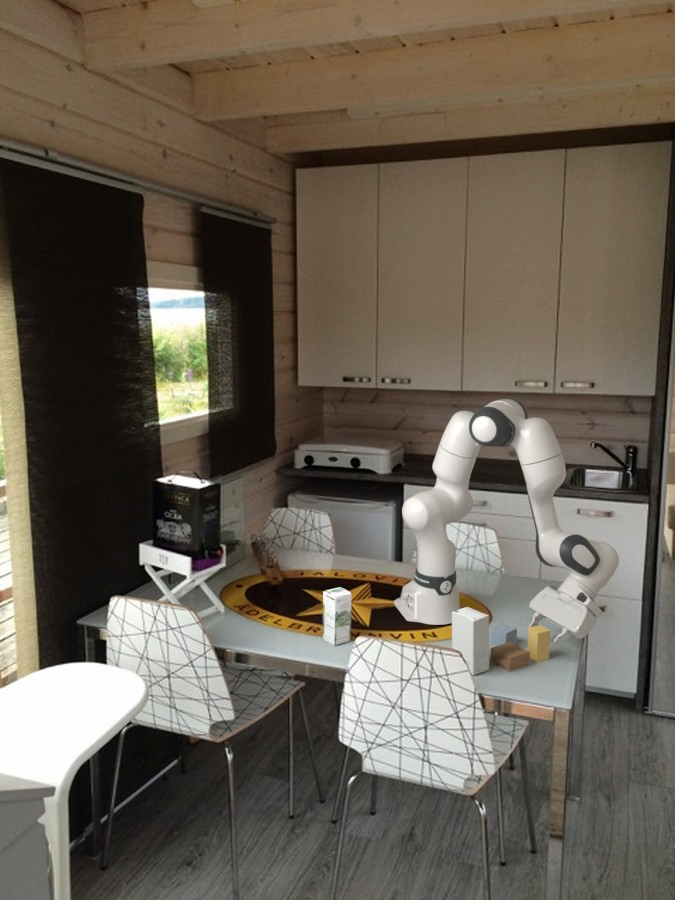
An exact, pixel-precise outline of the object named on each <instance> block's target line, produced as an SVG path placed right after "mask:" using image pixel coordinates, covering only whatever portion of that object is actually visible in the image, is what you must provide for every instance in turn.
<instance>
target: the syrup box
mask: <svg viewBox="0 0 675 900" xmlns="http://www.w3.org/2000/svg"><path fill="white" fill-rule="evenodd" d="M322 592H323V593H322V637H321V638H322V640H323V641H324V642H325V643H328V644H330V645H331V646H334V647H337V646H340V645H343V644H346V643H350V642H351V638H352V637H351V636H352V635H351V632H352V631H351V630H352V598H353V595H352V593H351V591H349V590H347V589H345V588H343V587H340V586H339V587H335V588H331V589H325V590H324V591H322Z"/></svg>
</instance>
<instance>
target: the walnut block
mask: <svg viewBox="0 0 675 900" xmlns="http://www.w3.org/2000/svg"><path fill="white" fill-rule="evenodd" d="M489 663H491V664H494V665H496V666H497V667H499V666H500V668H502V669H503V670H505V671H507V672H508V673H509V672H514V671H516V670H519V669H522V668H525V667H528V666H530V652H529V651H527V649H525V648H523V647H521V646H519V645H518V644H516V645H515V644H513V643H511V642H509V643H506V644H502V645H499V646H496V647H494V646H492V647H490V654H489Z"/></svg>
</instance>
